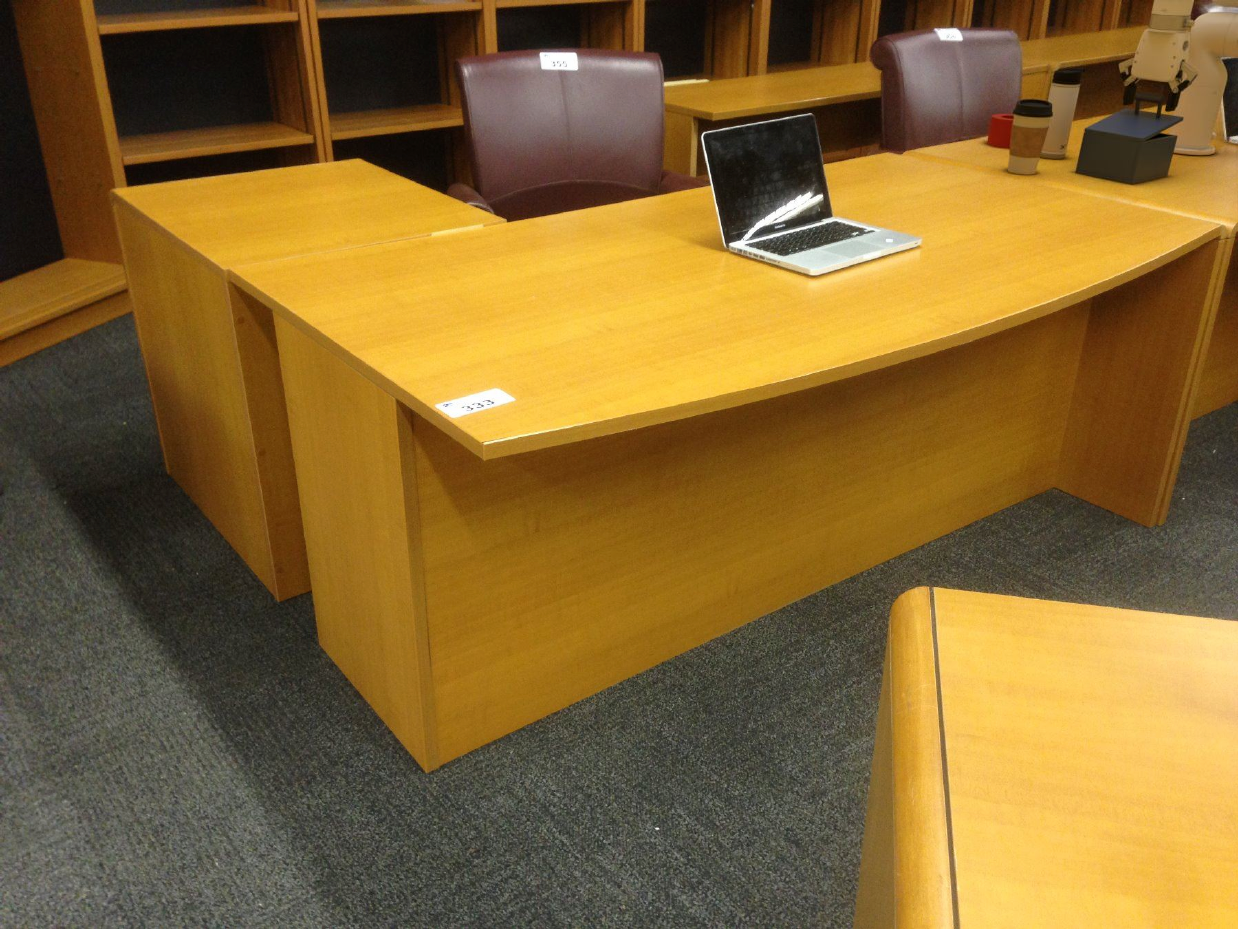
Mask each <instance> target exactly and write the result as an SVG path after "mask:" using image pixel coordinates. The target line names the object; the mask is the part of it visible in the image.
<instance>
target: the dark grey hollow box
mask: <svg viewBox="0 0 1238 929" xmlns="http://www.w3.org/2000/svg"><path fill="white" fill-rule="evenodd" d="M1177 137H1178V136H1176V135H1170V134H1169V133H1164V132H1161V133H1159V134H1157V135H1155V136H1153V137H1151V138H1150V139H1148V140H1146V141H1144V142H1139V141H1134V140H1128V139H1122V138H1117V137H1111V136H1105V135H1099V134H1094V133H1088V132H1083V135H1082V139H1081V144H1080V148H1079V153H1078V158H1077V162H1076V166H1075V173H1076V174H1080V175H1084V176H1089V177H1094V178H1099V179H1103V180H1109V181H1114V182H1119V183H1123V184H1127V185H1128V184H1129V185H1136V184H1140V183H1145V182H1148V181H1149V182H1150V181H1154V180H1157V179H1162V178H1166V177H1168V176H1169V171H1170V168H1171V164H1172V160H1173V157H1174V156H1173V155H1174V153H1173V152H1174V148H1175V145H1176V141H1177Z"/></svg>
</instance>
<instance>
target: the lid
mask: <svg viewBox="0 0 1238 929" xmlns="http://www.w3.org/2000/svg"><path fill="white" fill-rule="evenodd" d="M1165 100H1166V95H1164V94H1158V93H1151V92H1143V91H1136V93H1135V98H1134V101H1135V107H1134V108H1127V107H1124V108H1122V109H1121V110H1118V111H1117V112H1114V113H1112V114H1109V115H1108V116H1106V117H1104V118H1102V119H1100V120H1098V121H1097V122H1095V123H1093V124H1090V125H1088V126H1087V127H1084V130H1083V131H1084V132H1088V133H1094V134H1099V135H1105V136H1111V137H1117V138H1122V139H1128V140H1134V141H1139V142H1144V141H1146V140H1148V139H1150V138H1151V137H1153V136H1155V135H1157V134H1159V133H1164V132H1165V131H1166V130H1169V129H1170V127H1172V126H1174V125H1176V124H1178V123H1179V122H1181V121H1183V118H1184V117H1180V116H1173V115H1174V114H1168V113H1167V114H1165V113H1162V110H1163V104H1164V103H1165ZM1141 102H1145V103H1152V104H1157V106H1156V107H1157V108H1156V112H1153V111H1147V110H1140V108H1141ZM1084 132H1083V133H1084Z"/></svg>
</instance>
